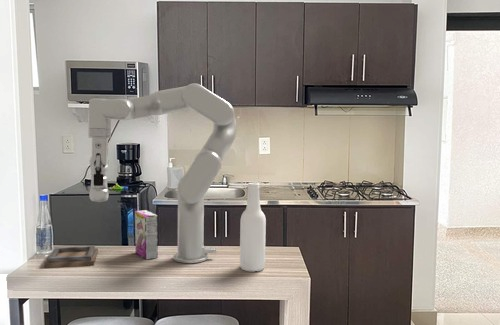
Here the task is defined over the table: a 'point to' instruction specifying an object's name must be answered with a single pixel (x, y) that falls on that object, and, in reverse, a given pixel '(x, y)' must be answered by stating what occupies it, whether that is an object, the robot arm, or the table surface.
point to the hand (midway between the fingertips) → (99, 183)
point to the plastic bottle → (99, 191)
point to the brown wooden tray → (72, 256)
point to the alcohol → (252, 232)
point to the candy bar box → (146, 234)
